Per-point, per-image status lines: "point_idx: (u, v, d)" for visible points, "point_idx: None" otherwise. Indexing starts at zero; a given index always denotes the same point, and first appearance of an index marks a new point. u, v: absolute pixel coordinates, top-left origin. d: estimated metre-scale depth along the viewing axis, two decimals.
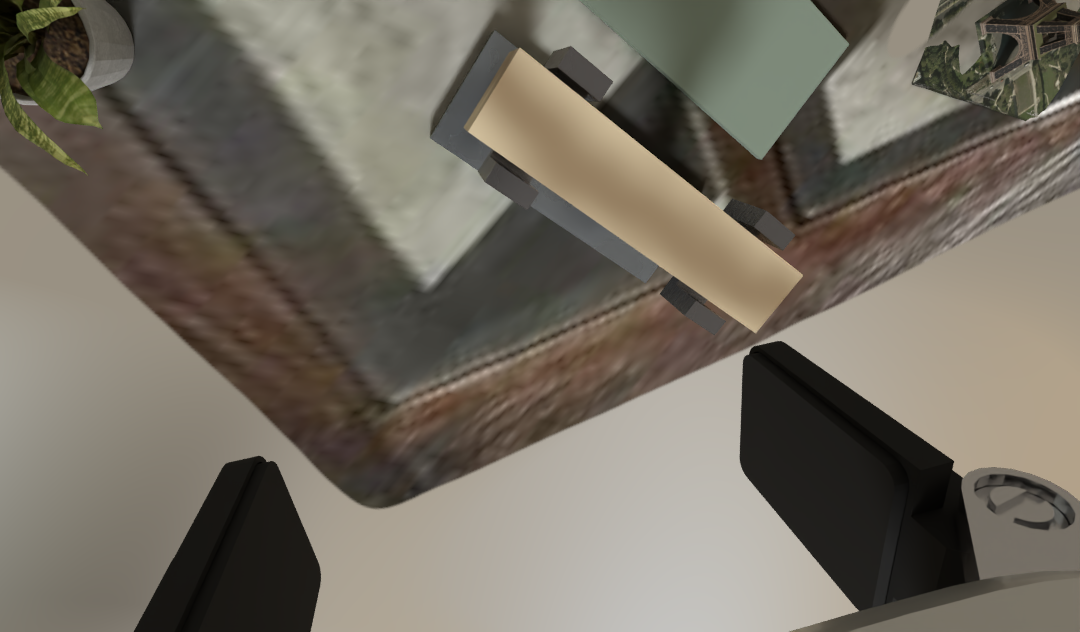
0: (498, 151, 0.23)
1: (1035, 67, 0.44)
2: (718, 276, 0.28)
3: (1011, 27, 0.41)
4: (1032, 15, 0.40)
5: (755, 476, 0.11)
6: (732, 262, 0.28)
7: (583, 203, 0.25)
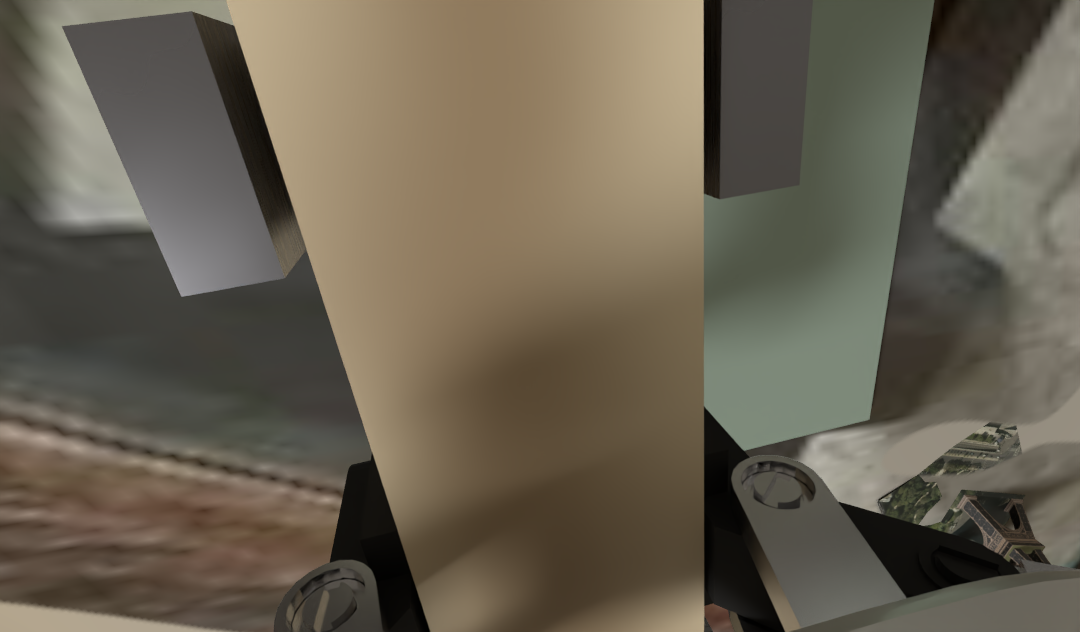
0: None
1: None
2: None
3: (989, 526, 0.32)
4: (1011, 531, 0.32)
5: None
6: None
7: (403, 441, 0.06)
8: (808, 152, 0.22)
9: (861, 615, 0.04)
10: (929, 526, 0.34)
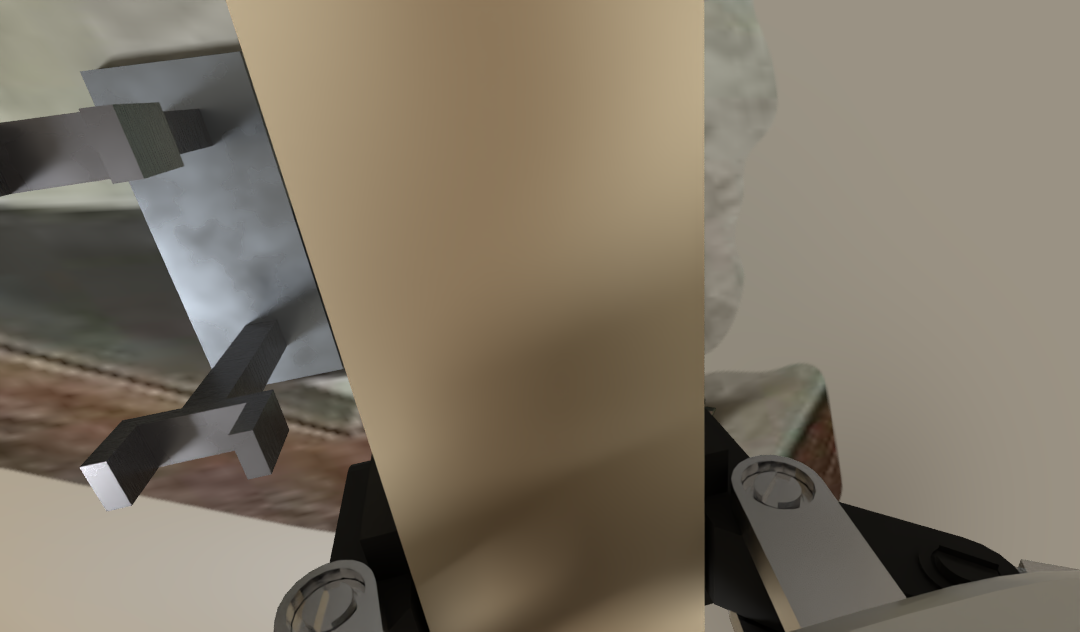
0: None
1: None
2: None
3: None
4: None
5: None
6: None
7: (404, 445, 0.06)
8: None
9: (861, 615, 0.04)
10: None
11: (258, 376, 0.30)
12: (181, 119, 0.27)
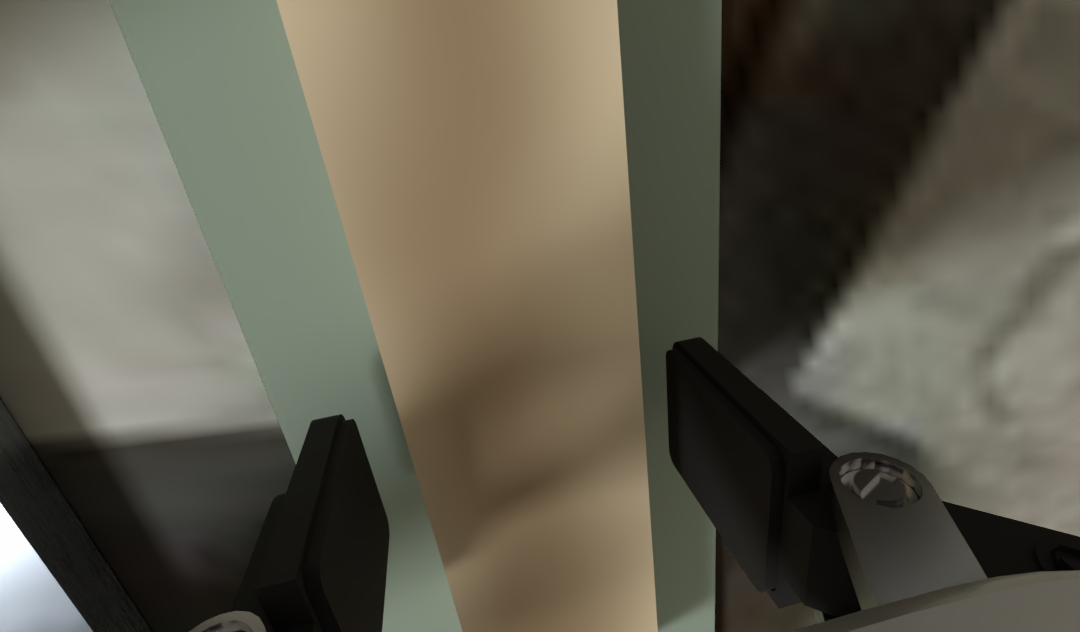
0: (282, 1, 0.06)
1: None
2: None
3: None
4: None
5: (680, 465, 0.12)
6: None
7: (406, 355, 0.08)
8: None
9: (861, 615, 0.04)
10: None
11: None
12: None
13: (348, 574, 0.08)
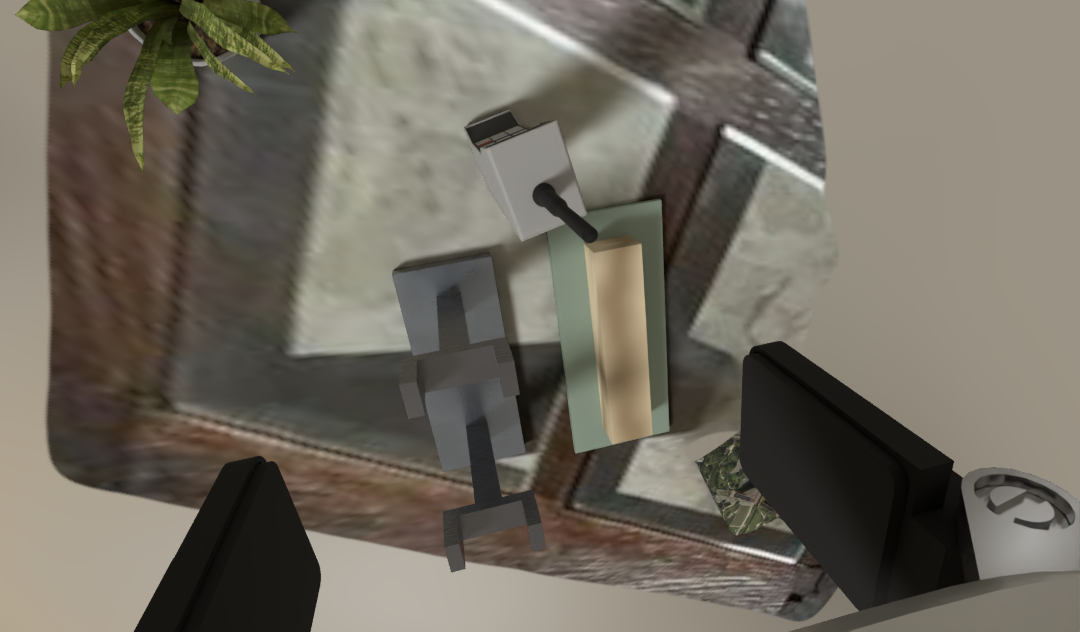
0: (596, 270, 0.43)
1: (754, 507, 0.62)
2: (622, 403, 0.48)
3: None
4: None
5: (755, 476, 0.11)
6: (632, 402, 0.49)
7: (604, 321, 0.45)
8: None
9: (861, 615, 0.04)
10: (730, 478, 0.60)
11: None
12: None
13: None
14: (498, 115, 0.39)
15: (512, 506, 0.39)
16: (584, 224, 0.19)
